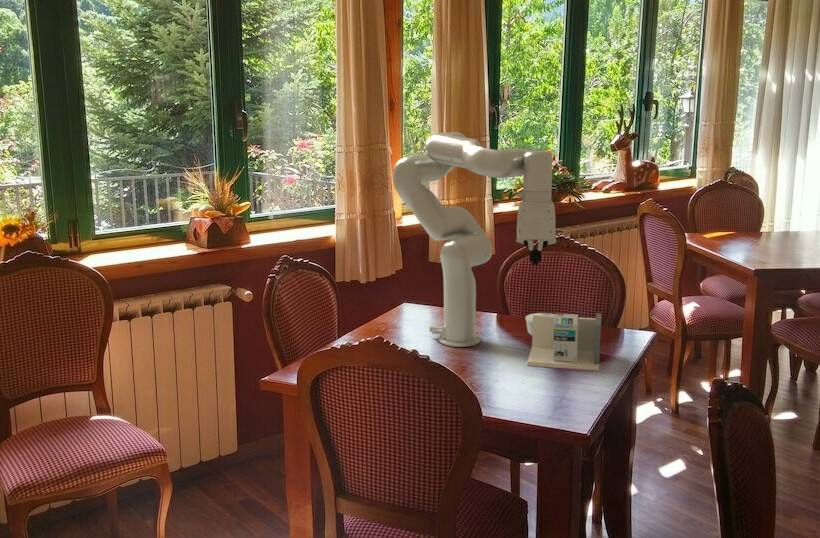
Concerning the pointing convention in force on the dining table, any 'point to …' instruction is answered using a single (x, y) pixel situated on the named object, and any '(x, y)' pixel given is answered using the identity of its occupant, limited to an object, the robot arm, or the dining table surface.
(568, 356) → the light bulb box
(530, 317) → the ramekin
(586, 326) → the cream open angled stand
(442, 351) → the dining table surface
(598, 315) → the bookend
